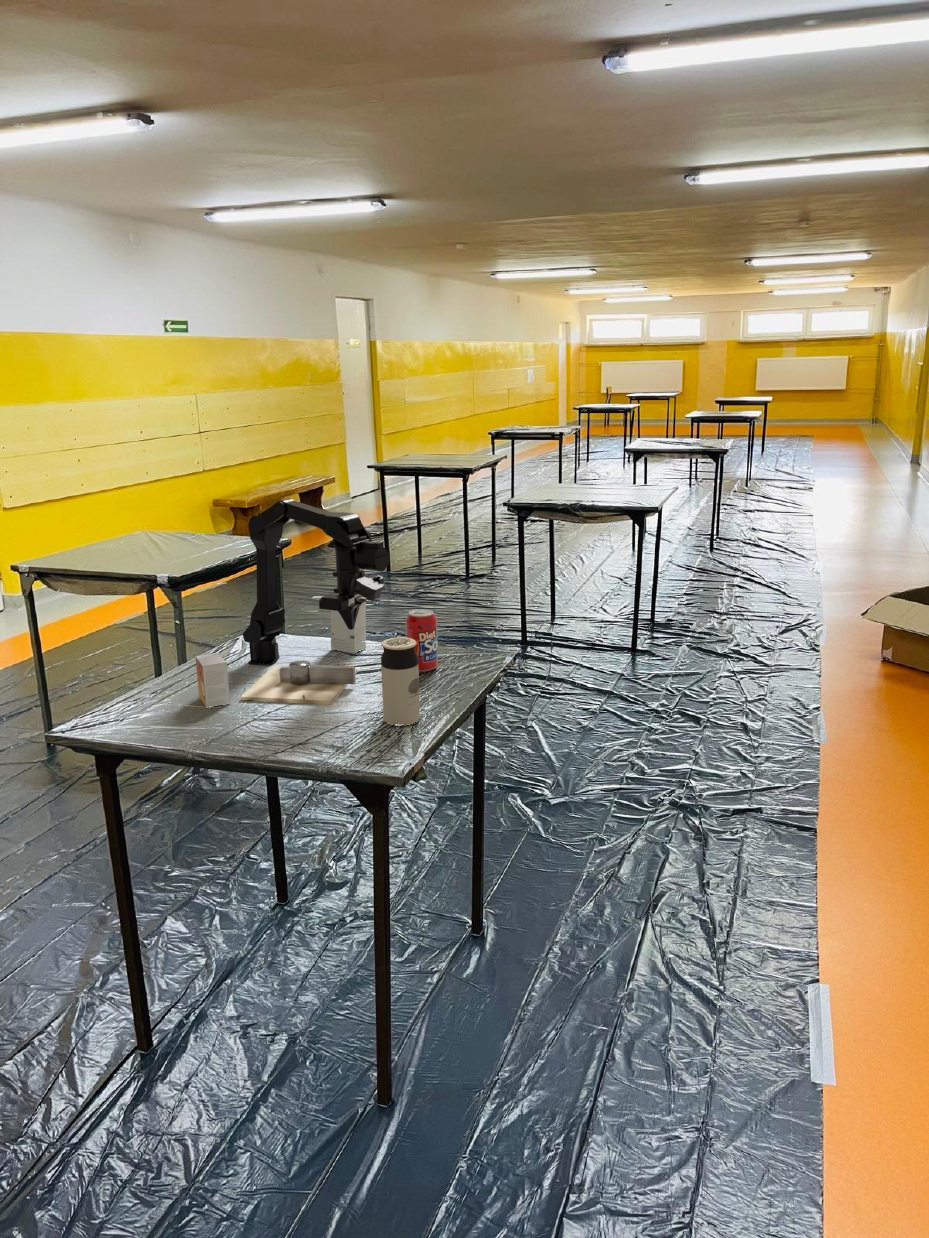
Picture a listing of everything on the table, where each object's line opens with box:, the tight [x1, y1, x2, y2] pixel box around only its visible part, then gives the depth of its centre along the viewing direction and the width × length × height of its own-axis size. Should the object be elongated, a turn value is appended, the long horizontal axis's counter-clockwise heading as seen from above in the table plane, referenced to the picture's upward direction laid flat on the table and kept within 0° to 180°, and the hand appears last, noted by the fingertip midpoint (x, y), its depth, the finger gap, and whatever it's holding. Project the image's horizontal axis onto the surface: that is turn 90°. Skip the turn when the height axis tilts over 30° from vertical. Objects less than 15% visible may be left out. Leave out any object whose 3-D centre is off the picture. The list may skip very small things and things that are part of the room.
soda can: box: [405, 608, 439, 673], centre depth 222 cm, size 8×8×15 cm
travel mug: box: [380, 636, 421, 725], centre depth 189 cm, size 8×8×18 cm
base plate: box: [240, 665, 358, 706], centre depth 213 cm, size 22×22×1 cm
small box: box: [195, 652, 231, 708], centre depth 203 cm, size 8×6×10 cm
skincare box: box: [330, 597, 367, 655], centre depth 238 cm, size 8×6×15 cm
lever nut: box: [279, 660, 357, 685], centre depth 211 cm, size 18×5×4 cm, turn 82°
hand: (351, 629), depth 213 cm, fingers closed
